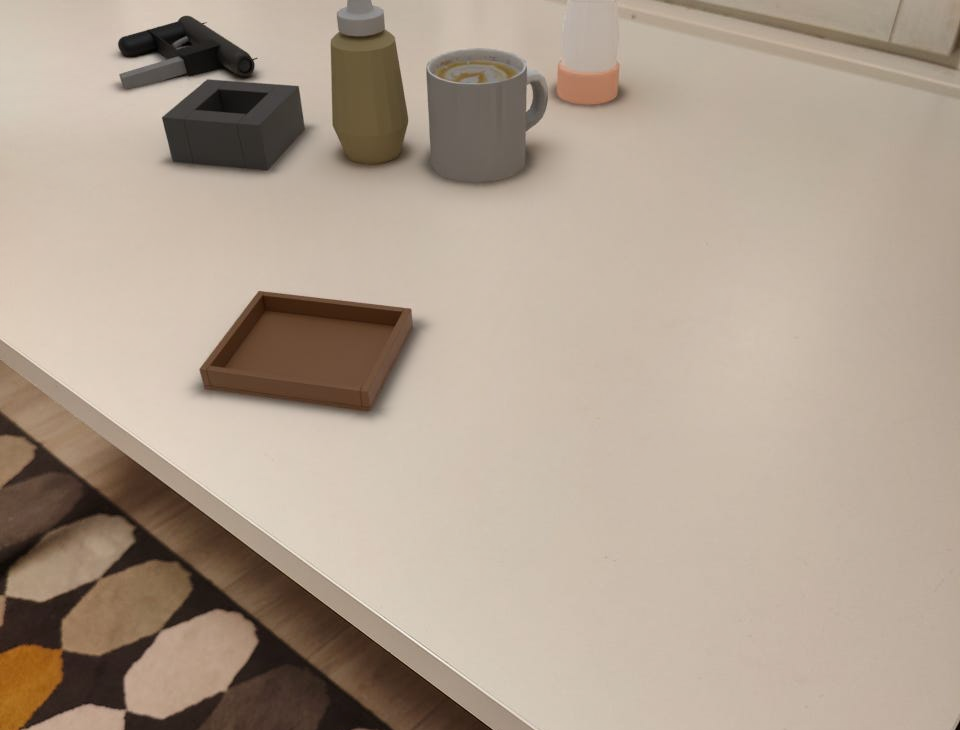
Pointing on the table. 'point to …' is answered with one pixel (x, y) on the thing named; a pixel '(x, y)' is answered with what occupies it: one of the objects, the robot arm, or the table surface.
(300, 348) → the tray
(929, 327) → the table surface
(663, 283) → the table surface
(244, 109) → the socket base
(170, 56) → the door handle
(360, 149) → the squeeze bottle
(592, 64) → the pepper shaker
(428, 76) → the coffee mug
